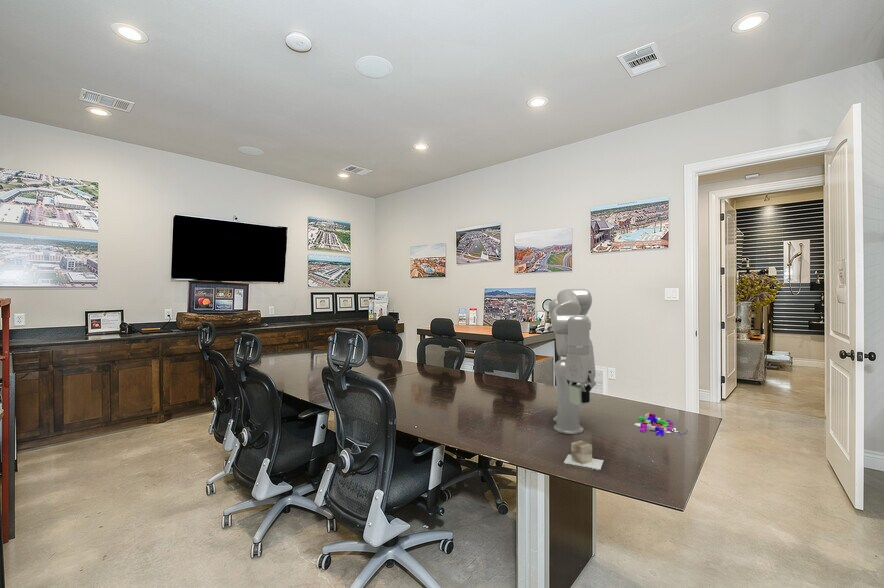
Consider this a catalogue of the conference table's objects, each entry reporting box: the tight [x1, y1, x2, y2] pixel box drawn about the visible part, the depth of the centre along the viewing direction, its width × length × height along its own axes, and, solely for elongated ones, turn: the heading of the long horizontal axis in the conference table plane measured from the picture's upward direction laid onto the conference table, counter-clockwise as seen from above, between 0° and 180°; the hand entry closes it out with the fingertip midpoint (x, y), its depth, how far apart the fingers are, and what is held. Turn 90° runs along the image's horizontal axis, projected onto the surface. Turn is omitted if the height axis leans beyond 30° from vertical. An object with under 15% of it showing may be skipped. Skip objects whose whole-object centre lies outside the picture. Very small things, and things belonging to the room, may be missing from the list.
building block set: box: [633, 412, 680, 437], centre depth 180 cm, size 25×20×4 cm
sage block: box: [569, 383, 591, 406], centre depth 144 cm, size 5×5×6 cm
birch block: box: [570, 440, 593, 464], centre depth 143 cm, size 5×5×6 cm
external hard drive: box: [563, 453, 605, 471], centre depth 143 cm, size 2×8×12 cm
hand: (579, 400), depth 144 cm, fingers closed on sage block, 5 cm apart
